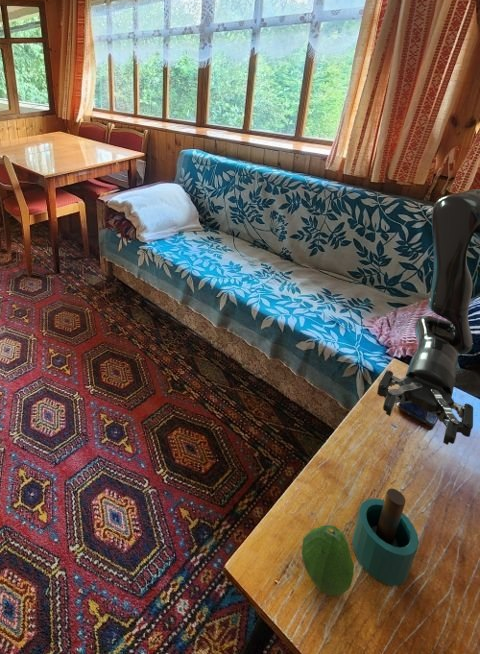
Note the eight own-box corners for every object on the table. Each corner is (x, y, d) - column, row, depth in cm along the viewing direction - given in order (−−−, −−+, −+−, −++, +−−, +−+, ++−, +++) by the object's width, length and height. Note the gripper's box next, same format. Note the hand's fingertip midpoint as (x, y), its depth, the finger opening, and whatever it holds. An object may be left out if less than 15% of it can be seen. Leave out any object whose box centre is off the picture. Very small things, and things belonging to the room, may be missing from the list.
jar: (394, 532, 71) (403, 502, 68) (418, 591, 64) (429, 560, 61) (345, 524, 73) (352, 494, 70) (363, 579, 65) (371, 549, 62)
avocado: (353, 572, 66) (363, 531, 62) (343, 620, 61) (353, 578, 57) (306, 539, 72) (312, 498, 67) (293, 580, 66) (299, 539, 62)
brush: (388, 541, 70) (404, 484, 64) (399, 570, 66) (417, 513, 60) (362, 536, 71) (376, 480, 65) (372, 565, 67) (387, 508, 61)
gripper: (393, 344, 82) (374, 389, 71) (481, 378, 72) (473, 435, 61) (388, 371, 84) (368, 417, 74) (472, 406, 74) (463, 466, 64)
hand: (416, 425), depth 68 cm, fingers open, 8 cm apart
